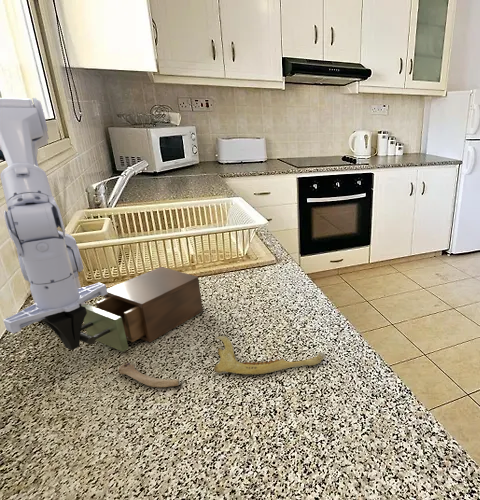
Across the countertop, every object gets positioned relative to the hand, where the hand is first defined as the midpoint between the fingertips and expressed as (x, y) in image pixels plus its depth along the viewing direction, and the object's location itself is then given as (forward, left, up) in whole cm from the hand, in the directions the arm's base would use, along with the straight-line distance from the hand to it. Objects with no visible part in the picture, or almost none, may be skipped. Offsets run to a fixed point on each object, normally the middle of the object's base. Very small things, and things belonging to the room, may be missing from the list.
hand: (72, 346), depth 65 cm
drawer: (0, +9, -3) cm, 10 cm away
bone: (+15, +3, -4) cm, 16 cm away
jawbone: (+28, +16, -4) cm, 32 cm away
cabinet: (0, +17, -4) cm, 17 cm away
